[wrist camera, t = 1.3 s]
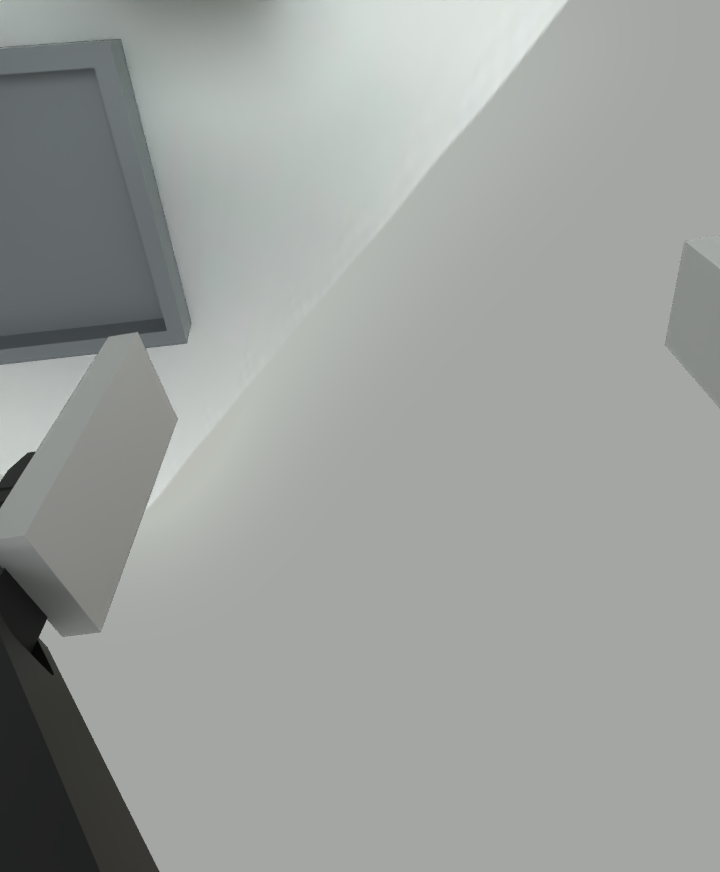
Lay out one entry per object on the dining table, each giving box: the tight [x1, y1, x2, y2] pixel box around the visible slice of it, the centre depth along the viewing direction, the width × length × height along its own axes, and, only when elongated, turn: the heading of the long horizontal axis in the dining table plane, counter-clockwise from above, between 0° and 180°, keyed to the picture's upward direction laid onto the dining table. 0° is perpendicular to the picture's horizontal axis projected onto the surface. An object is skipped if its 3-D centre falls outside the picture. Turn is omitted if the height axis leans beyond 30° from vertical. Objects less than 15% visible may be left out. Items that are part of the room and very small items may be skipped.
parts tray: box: [0, 39, 191, 365], centre depth 33 cm, size 16×16×3 cm
